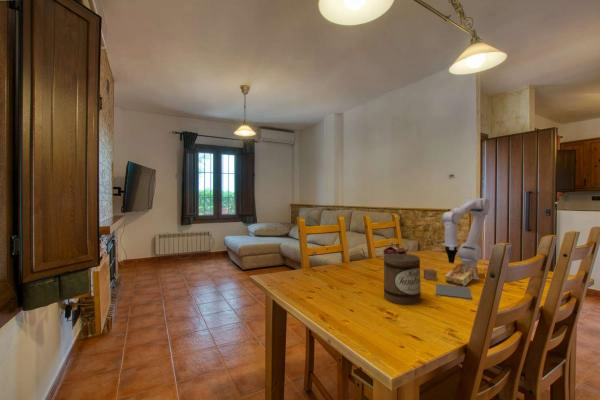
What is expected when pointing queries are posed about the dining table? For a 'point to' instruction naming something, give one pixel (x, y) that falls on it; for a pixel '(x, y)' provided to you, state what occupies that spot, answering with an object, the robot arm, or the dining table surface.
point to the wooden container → (402, 278)
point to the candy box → (461, 274)
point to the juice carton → (391, 249)
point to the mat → (453, 291)
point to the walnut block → (430, 274)
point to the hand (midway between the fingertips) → (451, 261)
